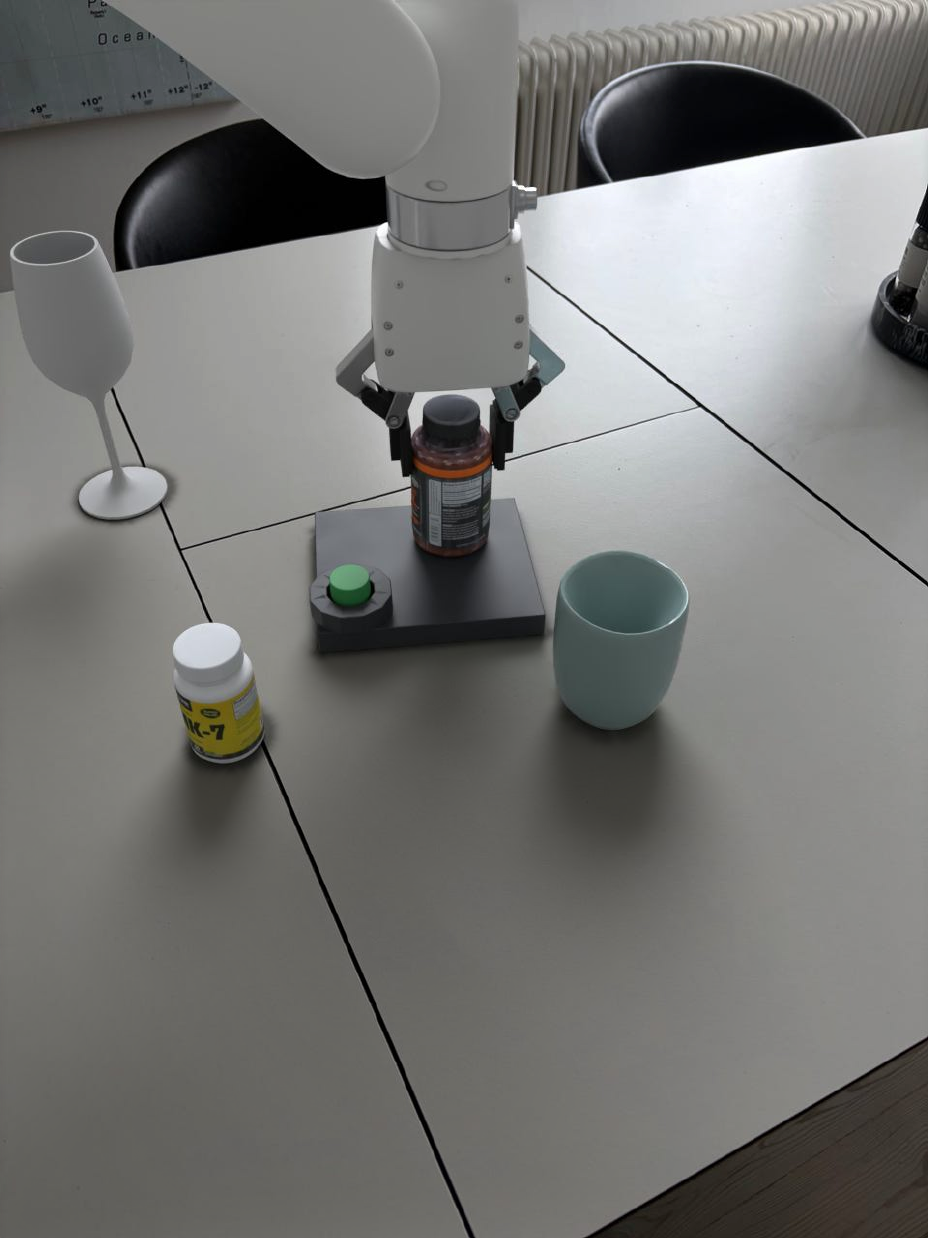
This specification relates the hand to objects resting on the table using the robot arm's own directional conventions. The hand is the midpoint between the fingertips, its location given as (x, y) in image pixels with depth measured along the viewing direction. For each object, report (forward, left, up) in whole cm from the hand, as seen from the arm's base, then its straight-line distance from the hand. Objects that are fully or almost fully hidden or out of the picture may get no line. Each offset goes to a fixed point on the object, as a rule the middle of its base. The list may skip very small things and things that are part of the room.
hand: (451, 461), depth 72 cm
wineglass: (-26, +12, -9) cm, 30 cm away
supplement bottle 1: (-16, -16, -9) cm, 25 cm away
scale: (-2, -2, -9) cm, 10 cm away
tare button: (-8, -7, -6) cm, 12 cm away
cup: (+9, -16, -9) cm, 21 cm away
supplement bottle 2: (0, 0, -7) cm, 7 cm away
